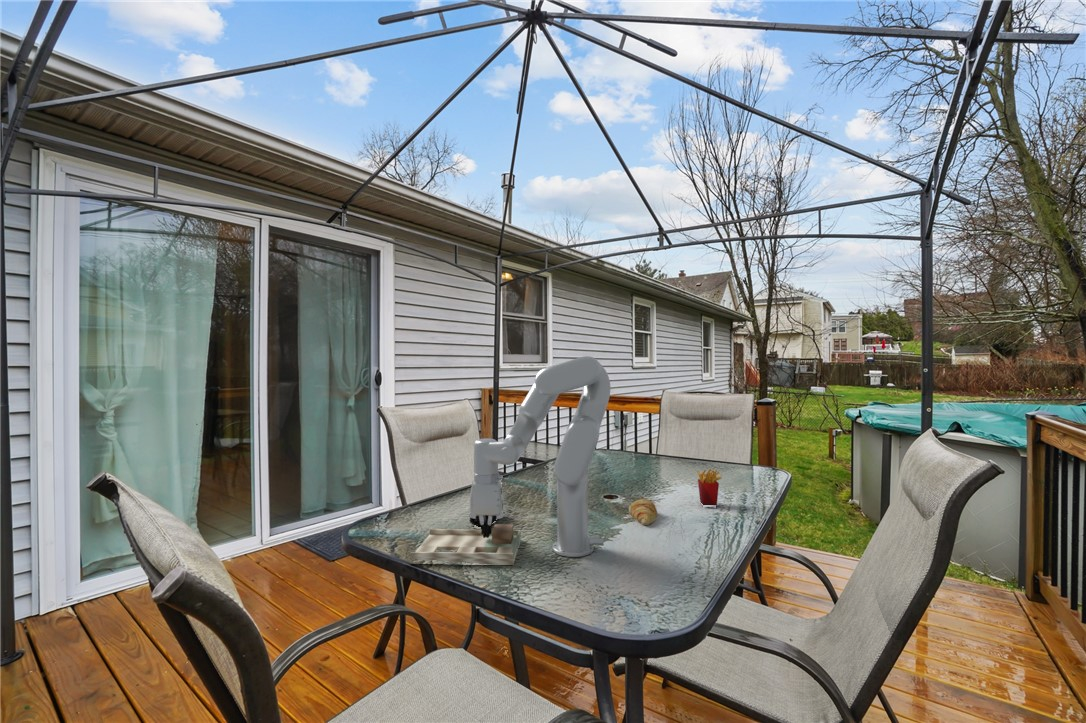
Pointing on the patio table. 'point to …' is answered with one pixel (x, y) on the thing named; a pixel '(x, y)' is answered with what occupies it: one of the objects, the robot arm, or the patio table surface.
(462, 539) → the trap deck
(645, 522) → the croissant
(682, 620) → the patio table surface
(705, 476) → the french fries
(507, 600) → the patio table surface
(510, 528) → the walnut block
